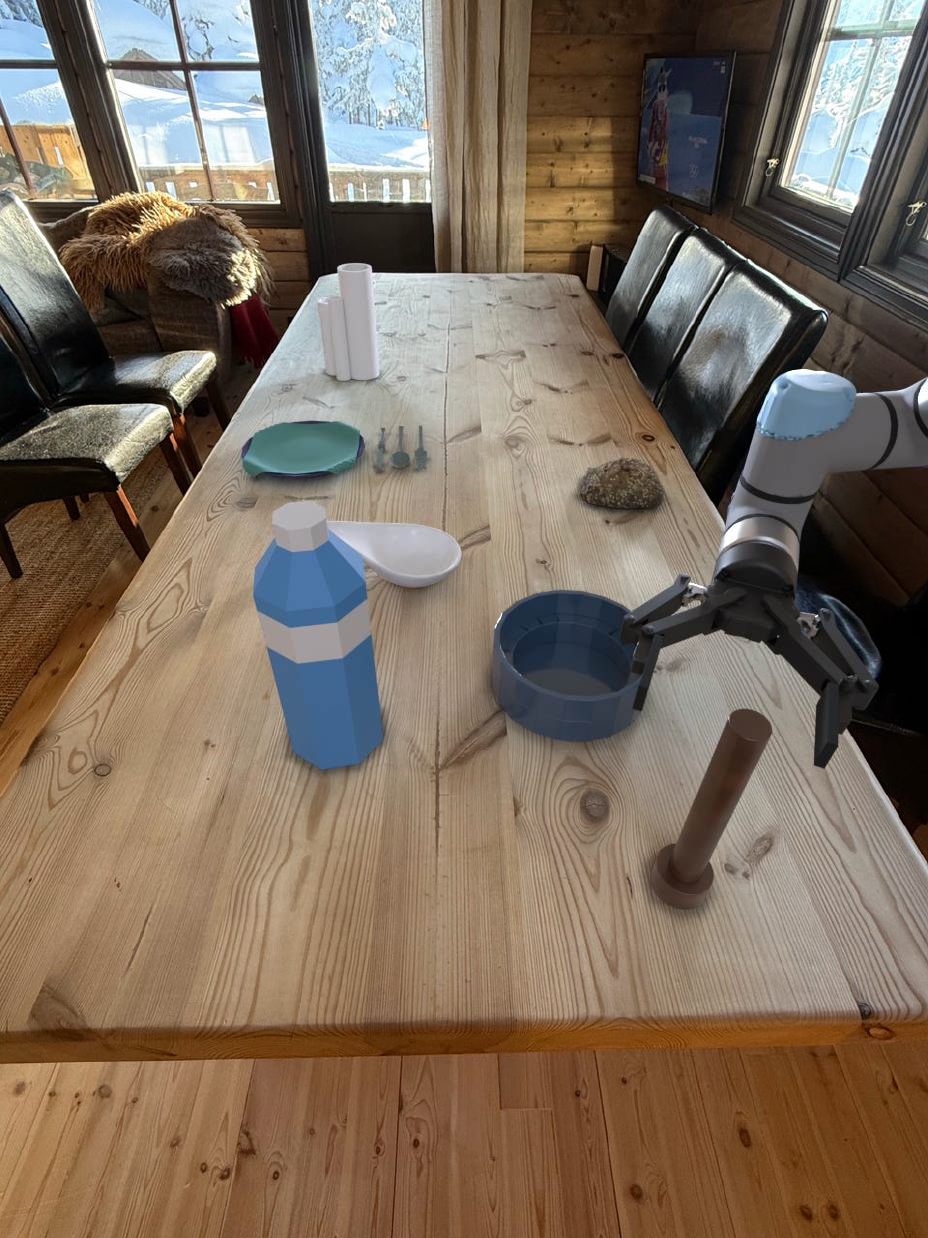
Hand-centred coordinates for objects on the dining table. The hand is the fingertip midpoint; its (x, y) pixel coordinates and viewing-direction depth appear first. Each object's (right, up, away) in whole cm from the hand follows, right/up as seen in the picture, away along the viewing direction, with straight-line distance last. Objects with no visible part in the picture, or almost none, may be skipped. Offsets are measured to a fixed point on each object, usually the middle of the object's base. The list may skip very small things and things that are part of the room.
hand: (729, 726), depth 50 cm
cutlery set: (-41, +35, +59) cm, 80 cm away
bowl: (-9, +1, +20) cm, 22 cm away
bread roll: (+4, +28, +52) cm, 59 cm away
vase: (-43, +59, +86) cm, 113 cm away
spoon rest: (-32, +14, +35) cm, 49 cm away
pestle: (-3, -13, +4) cm, 14 cm away
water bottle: (-33, -3, +15) cm, 36 cm away
